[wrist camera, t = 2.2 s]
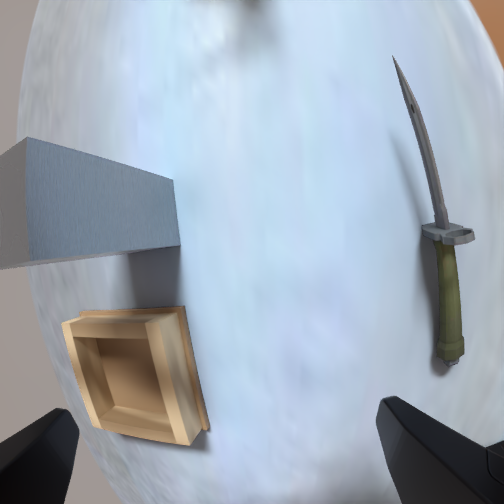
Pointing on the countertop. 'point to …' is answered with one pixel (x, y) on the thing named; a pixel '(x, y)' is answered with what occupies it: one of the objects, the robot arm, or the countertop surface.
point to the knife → (440, 240)
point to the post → (79, 206)
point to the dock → (138, 372)
